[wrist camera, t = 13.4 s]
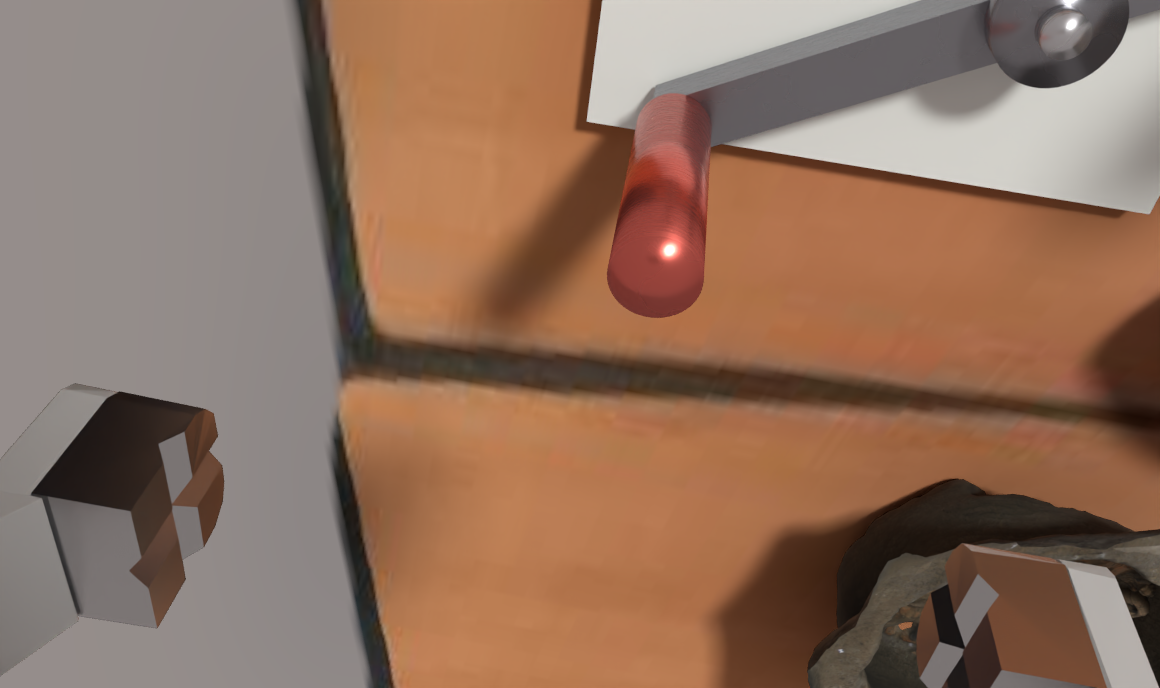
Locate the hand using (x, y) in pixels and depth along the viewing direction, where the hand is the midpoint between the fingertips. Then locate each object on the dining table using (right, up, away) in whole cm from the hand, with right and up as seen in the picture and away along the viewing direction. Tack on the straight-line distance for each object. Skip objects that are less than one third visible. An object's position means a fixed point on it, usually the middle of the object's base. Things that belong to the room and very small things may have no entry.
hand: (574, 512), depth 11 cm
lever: (+13, +14, +27) cm, 33 cm away
